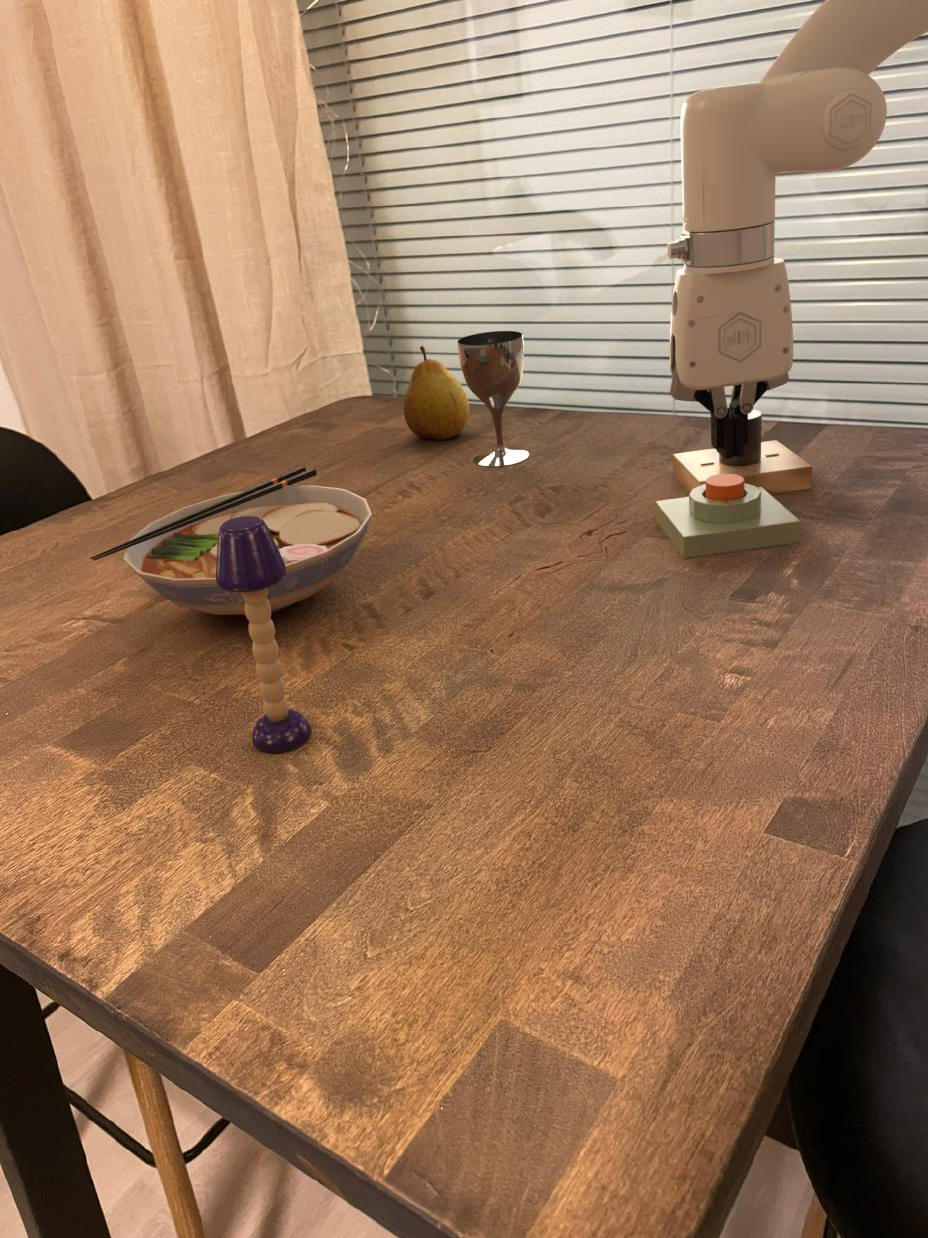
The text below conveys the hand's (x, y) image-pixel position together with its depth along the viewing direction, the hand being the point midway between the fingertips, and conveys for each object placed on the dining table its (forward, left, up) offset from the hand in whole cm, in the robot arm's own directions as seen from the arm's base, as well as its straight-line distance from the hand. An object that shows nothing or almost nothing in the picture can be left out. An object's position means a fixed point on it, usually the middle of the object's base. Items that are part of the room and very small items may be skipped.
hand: (729, 453), depth 91 cm
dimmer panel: (-6, -13, -8) cm, 16 cm away
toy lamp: (+41, +26, -8) cm, 50 cm away
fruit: (+25, -47, -8) cm, 54 cm away
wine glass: (+18, -33, -8) cm, 39 cm away
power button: (0, 0, -4) cm, 4 cm away
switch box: (0, 0, -8) cm, 8 cm away
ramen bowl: (+45, +1, -8) cm, 46 cm away
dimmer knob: (-6, -13, -5) cm, 15 cm away
